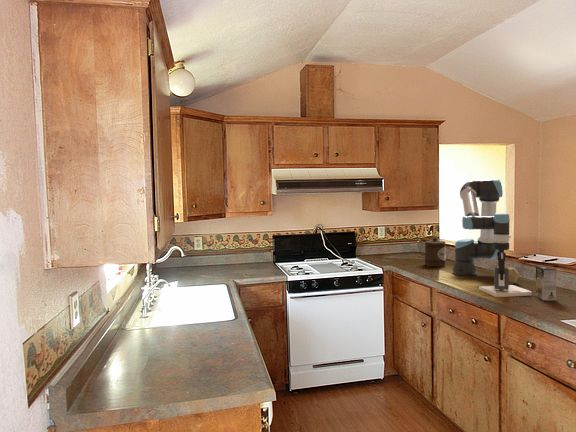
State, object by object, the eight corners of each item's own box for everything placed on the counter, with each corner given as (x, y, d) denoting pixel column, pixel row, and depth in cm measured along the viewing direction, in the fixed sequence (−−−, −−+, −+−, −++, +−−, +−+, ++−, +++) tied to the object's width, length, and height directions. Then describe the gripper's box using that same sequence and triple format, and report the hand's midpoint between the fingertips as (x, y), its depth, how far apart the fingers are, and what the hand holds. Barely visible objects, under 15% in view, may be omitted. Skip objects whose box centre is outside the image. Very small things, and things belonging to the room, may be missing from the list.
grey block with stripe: (494, 288, 214) (494, 267, 213) (494, 286, 220) (494, 264, 219) (508, 289, 211) (508, 267, 211) (507, 287, 217) (507, 265, 217)
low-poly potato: (516, 282, 245) (498, 271, 251) (525, 268, 239) (505, 258, 245) (508, 293, 235) (489, 282, 241) (517, 279, 229) (497, 268, 235)
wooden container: (443, 267, 295) (443, 238, 293) (423, 266, 302) (423, 237, 301) (446, 264, 307) (446, 235, 306) (426, 263, 315) (426, 235, 314)
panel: (479, 289, 226) (479, 277, 226) (512, 288, 228) (512, 276, 227) (496, 297, 210) (496, 283, 210) (531, 295, 212) (532, 282, 212)
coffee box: (534, 295, 211) (535, 265, 210) (548, 296, 210) (548, 265, 209) (542, 300, 202) (543, 269, 201) (556, 300, 201) (557, 269, 200)
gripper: (510, 244, 204) (510, 289, 205) (508, 240, 221) (507, 281, 223) (494, 244, 207) (494, 287, 208) (493, 239, 225) (492, 280, 226)
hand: (501, 284), depth 216 cm, fingers closed on grey block with stripe, 7 cm apart
